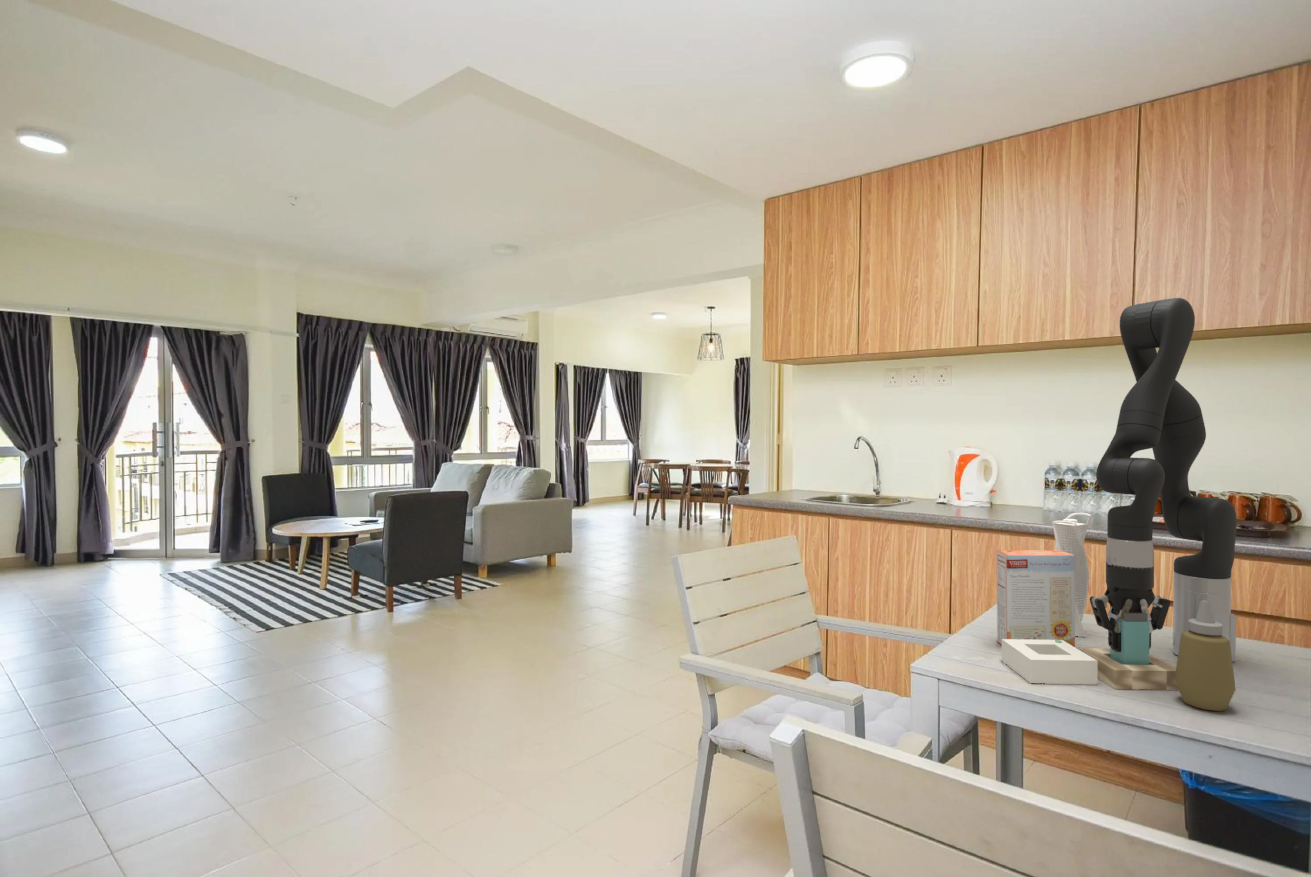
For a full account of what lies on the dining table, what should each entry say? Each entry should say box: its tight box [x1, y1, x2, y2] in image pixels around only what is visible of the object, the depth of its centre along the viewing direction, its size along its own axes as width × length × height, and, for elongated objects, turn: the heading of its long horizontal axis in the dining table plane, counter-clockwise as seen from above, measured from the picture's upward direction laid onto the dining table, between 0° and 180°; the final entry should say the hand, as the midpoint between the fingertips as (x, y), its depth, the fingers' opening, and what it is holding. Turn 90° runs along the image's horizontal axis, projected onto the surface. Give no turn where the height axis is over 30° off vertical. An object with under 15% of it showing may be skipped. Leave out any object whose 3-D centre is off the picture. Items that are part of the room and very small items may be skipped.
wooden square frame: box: [1077, 647, 1179, 691], centre depth 128 cm, size 12×12×4 cm
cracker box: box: [996, 549, 1076, 648], centre depth 145 cm, size 14×6×21 cm, turn 84°
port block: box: [1001, 639, 1098, 686], centre depth 130 cm, size 12×12×5 cm
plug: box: [1109, 611, 1150, 665], centre depth 127 cm, size 4×4×12 cm
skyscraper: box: [1051, 512, 1092, 638], centre depth 154 cm, size 8×8×28 cm
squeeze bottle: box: [1175, 600, 1237, 712], centre depth 115 cm, size 8×8×18 cm
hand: (1129, 650), depth 127 cm, fingers closed on plug, 4 cm apart
